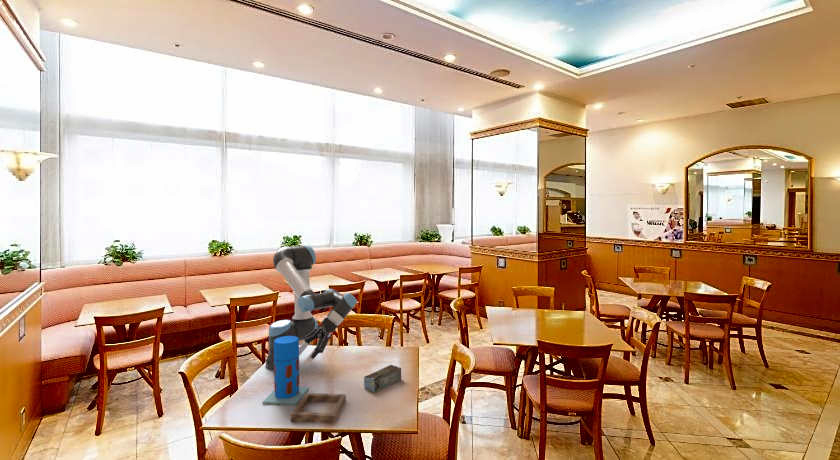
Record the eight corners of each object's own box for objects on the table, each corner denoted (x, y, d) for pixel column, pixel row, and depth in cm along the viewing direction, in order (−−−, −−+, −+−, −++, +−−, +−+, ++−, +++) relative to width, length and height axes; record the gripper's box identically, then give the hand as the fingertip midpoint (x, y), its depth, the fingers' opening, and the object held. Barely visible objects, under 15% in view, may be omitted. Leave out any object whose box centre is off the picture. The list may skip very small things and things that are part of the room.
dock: (290, 421, 153) (290, 414, 152) (306, 399, 171) (306, 392, 170) (334, 423, 152) (334, 415, 151) (346, 400, 170) (346, 394, 169)
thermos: (303, 388, 179) (302, 336, 178) (293, 399, 168) (292, 344, 167) (281, 387, 180) (280, 335, 179) (269, 398, 169) (269, 343, 168)
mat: (262, 404, 166) (262, 401, 166) (277, 388, 181) (277, 386, 181) (296, 405, 165) (296, 403, 165) (308, 389, 180) (308, 387, 180)
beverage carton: (363, 388, 182) (363, 375, 182) (390, 375, 197) (391, 363, 196) (374, 393, 177) (374, 379, 177) (402, 380, 192) (402, 367, 191)
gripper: (347, 332, 175) (316, 372, 167) (327, 319, 196) (299, 354, 188) (336, 323, 172) (304, 363, 164) (317, 311, 192) (288, 346, 185)
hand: (301, 358), depth 176 cm, fingers open, 13 cm apart
